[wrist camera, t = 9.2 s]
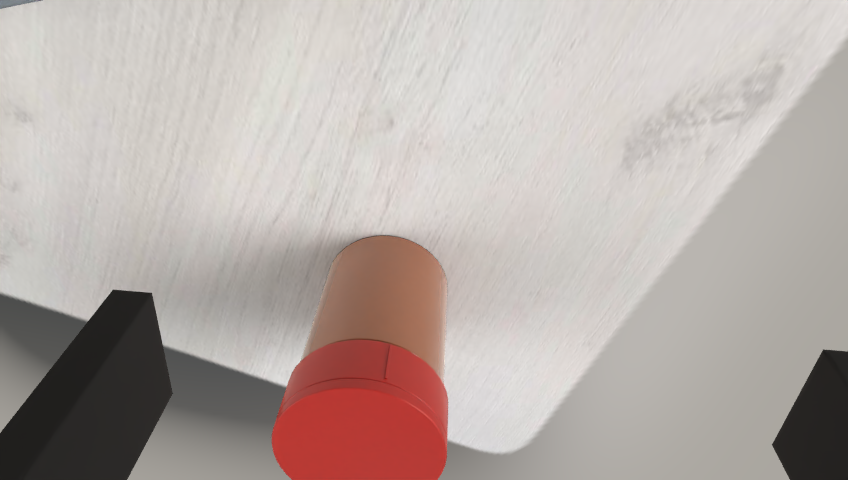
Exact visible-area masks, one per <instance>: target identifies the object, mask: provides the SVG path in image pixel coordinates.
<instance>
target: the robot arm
mask: <svg viewBox="0 0 848 480" xmlns="http://www.w3.org/2000/svg"><path fill="white" fill-rule="evenodd" d="M172 394H173V393H172V388H171V384H170V379H169V374H168V369H167V365H166V360H165V354H164V349H163V345H162V340H161V335H160V330H159V325H158V320H157V316H156V311H155V306H154V301H153V296H152V293H145V292H133V291H122V290H112V292H111V293H110V294H109V296H108V297H107V298H106V299H105V301H104V302H103V303H102V304H101V306H100V307H99V308H98V310H97V311H96V312H95V313H94V315H93V316H92V317H91V318H90V320H89V321H88V322H87V324H86V325H85V326H84V327H83V329H82V330H81V331H80V332H79V334H78V335H77V336H76V338H75V339H74V340H73V341H72V343H71V344H70V345H69V347H68V348H67V349H66V350H65V351H64V353H63V354H62V355H61V357H60V358H59V359H58V361H57V362H56V363H55V364H54V365H53V367H52V368H51V369H50V371H49V372H48V373H47V374H46V376H45V377H44V378H43V379H42V381H41V382H40V383H39V385H38V386H37V387H36V388H35V390H34V391H33V392H32V394H31V395H30V396H29V397H28V398H27V400H26V401H25V403H24V404H23V405H22V406H21V407H20V409H19V410H18V411H17V413H16V414H15V415H14V416H13V418H12V419H11V420H10V421H9V423H8V424H7V425H6V427H5V428H4V429H3V430H2V432H1V433H0V480H127V479H128V477H129V475H130V473H131V471H132V469H133V467H134V465H135V464H136V462H137V460H138V458H139V456H140V454H141V452H142V450H143V449H144V447H145V445H146V443H147V441H148V439H149V437H150V435H151V433H152V432H153V430H154V428H155V426H156V424H157V422H158V420H159V418H160V416H161V414H162V413H163V411H164V409H165V407H166V405H167V403H168V401H169V399H170V397H171V396H172ZM772 445H773V448H774V450H775V452H776V453H777V455H778V457H779V459H780V461H781V463H782V465H783V467H784V469H785V471H786V473H787V475H788V476H789V479H790V480H848V352H845V351H833V350H823V351H822V353H821V355H820V357H819V359H818V360H817V362H816V364H815V366H814V368H813V370H812V372H811V373H810V375H809V377H808V379H807V381H806V383H805V385H804V386H803V388H802V390H801V392H800V394H799V396H798V398H797V400H796V401H795V403H794V405H793V407H792V409H791V411H790V412H789V414H788V416H787V418H786V420H785V422H784V424H783V426H782V428H781V429H780V431H779V433H778V435H777V437H776V438H775V441H774V442H773V444H772Z"/></svg>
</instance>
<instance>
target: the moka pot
mask: <svg viewBox="0 0 848 480" xmlns="http://www.w3.org/2000/svg"><path fill="white" fill-rule="evenodd" d="M36 1H41V0H0V9H1V8H6V7H11V6H16V5H21V4H26V3H31V2H36Z"/></svg>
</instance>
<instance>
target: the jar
mask: <svg viewBox="0 0 848 480" xmlns="http://www.w3.org/2000/svg"><path fill="white" fill-rule="evenodd" d="M446 311H447V280H446V276H445V273H444V271H443V269H442V267H441V265H440V264H439V262H438V261H437V260H436V258H435V257H434V256H433V255H432V254H431V253H430V252H428V251H427V250H426V249H425V248H423V247H422V246H420V245H418V244H416V243H414V242H412V241H409V240H407V239H403V238H399V237H394V236H373V237H368V238H364V239H361V240H358V241H356V242H354V243H352V244H350V245H349V246H347V247H346V248H344V249H343V250H342V251H341V252H340V253H339V254H338V255H337V257H336V258H335V259H334V261H333V263H332V265H331V267H330V270H329V273H328V276H327V279H326V282H325V285H324V288H323V292H322V295H321V298H320V301H319V304H318V307H317V311H316V314H315V317H314V320H313V323H312V326H311V329H310V333H309V336H308V339H307V342H306V345H305V348H304V351H303V355H302V358H301V360H303V359H304V358H305V357H306V356H307V355H309V354H310V353H312V352H314V351H315V350H317V349H319V348H321V347H324V346H326V345H329V344H333V343H336V342H341V341H348V340H371V341H379V342H384V343H388V344H392V345H395V346H398V347H401V348H403V349H405V350H407V351H409V352H411V353H413V354H415V355H416V356H418V357H420V358H421V359H422V360H424V361H425V362H426V363H427V364H428V365H429V366H430V367H431V368H432V369H433V370H434V371H435V372H436V373H437V375H438V376H439V377H440V379H441V381H442V383H443V384H444V368H445V339H446ZM300 362H301V361H300Z"/></svg>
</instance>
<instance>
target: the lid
mask: <svg viewBox="0 0 848 480" xmlns="http://www.w3.org/2000/svg"><path fill="white" fill-rule="evenodd" d="M447 425H448V397H447V392H446V389H445V387H444V384H443V383H442V381H441V379H440V377H439V376H438V375H437V373H436V372H435V371H434V370H433V369H432V368H431V367H430V366H429V365H428V364H427V363H426V362H425V361H424V360H422V359H421V358H420V357H418V356H416V355H415V354H413V353H411V352H409V351H407V350H405V349H403V348H401V347H398V346H395V345H392V344H388V343H384V342H379V341H371V340H348V341H341V342H336V343H333V344H329V345H326V346H324V347H321V348H319V349H317V350H315V351H314V352H312V353H310V354H309V355H307V356H306V357H305V358H304V359H303V360H301V362H300V363H299V364H298V365H297V366H296V367H295V369H294V371H293V372H292V374H291V377H290V379H289V382H288V385H287V388H286V391H285V394H284V397H283V400H282V403H281V407H280V410H279V413H278V415H277V419H276V422H275V425H274V428H273V433H272V447H273V452H274V455H275V457H276V460H277V462H278V463H279V465H280V467H281V468H282V469H283V471H284V472H285V473H286V474H287V475H288V476H289V477H290V478H291V479H292V480H438V478H439V476H440V475H441V473H442V471H443V469H444V467H445V463H446V458H447Z"/></svg>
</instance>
